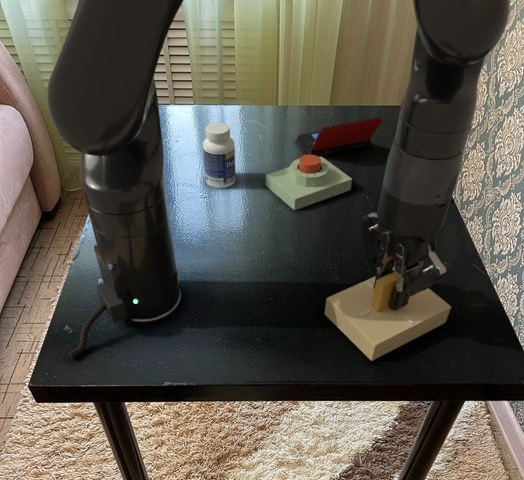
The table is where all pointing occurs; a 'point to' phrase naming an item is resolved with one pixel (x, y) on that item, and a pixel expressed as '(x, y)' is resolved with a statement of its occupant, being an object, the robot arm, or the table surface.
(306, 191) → the pale green button base
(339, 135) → the handheld game console
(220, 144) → the pill bottle
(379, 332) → the plate
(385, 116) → the table surface
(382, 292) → the lock knob
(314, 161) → the bell button
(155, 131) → the robot arm
